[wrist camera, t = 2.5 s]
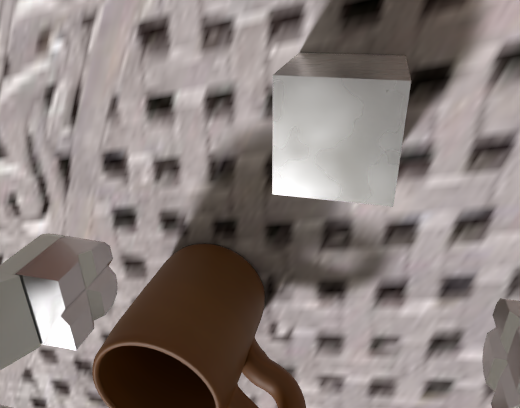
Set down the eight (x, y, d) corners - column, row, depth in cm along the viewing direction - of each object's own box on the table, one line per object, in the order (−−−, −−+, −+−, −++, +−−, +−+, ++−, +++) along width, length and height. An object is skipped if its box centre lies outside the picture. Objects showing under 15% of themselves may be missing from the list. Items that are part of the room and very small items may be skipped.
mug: (346, 301, 29) (330, 429, 21) (298, 370, 33) (269, 501, 25) (182, 220, 29) (102, 314, 21) (153, 297, 33) (77, 402, 25)
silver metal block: (405, 55, 21) (411, 80, 16) (391, 156, 24) (393, 206, 19) (299, 52, 23) (272, 75, 17) (296, 149, 25) (272, 194, 20)
